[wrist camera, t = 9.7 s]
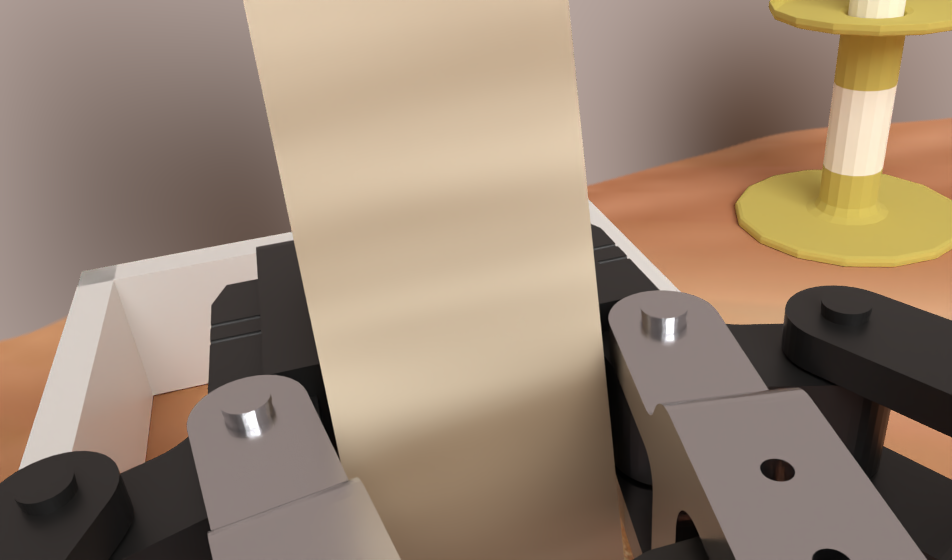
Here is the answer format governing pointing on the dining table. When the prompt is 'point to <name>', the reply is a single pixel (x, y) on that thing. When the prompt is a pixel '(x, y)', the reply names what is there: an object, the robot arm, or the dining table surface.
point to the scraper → (448, 266)
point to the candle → (855, 149)
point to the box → (156, 344)
